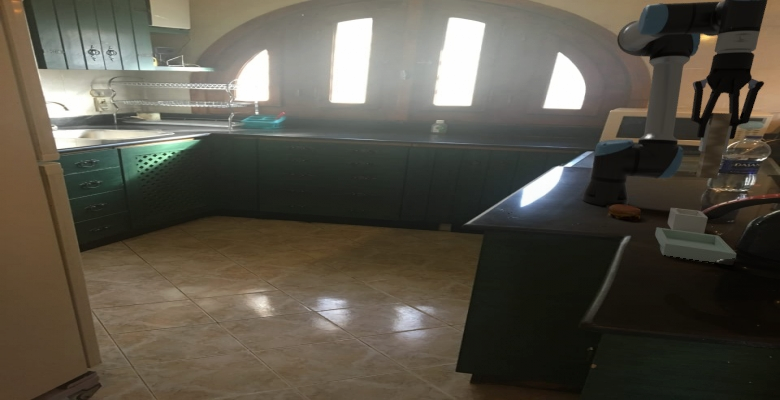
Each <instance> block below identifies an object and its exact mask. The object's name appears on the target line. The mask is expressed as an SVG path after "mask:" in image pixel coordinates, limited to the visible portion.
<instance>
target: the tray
mask: <svg viewBox="0 0 780 400" xmlns="http://www.w3.org/2000/svg"><path fill="white" fill-rule="evenodd" d="M654 236H655V238H656V239H657V240H656V241H658V244H657V246H658V248H659V250H660V252H661V254H662V256H664V255H666V256H665V257H670V256H673V257H672V258H676V257H680V258H679V259H683V258H686V259H685V260H689V259H693V260H692V261H695V260H699V261H698V262H702V261H709V262H715V261H717V260H720V259H732V258H735V259H736V258H737V253H736V251H734V250H733V249H732V248H731V247H730V246H729V244H727V243H726V242H725V241H724V239H722V238H721V236H720V235H715V234H707V233H704V234H702V233H695V232H687V231H680V230H672V229H671V228H664V227H663V228H662V227H657V226H656V228H655V232H654Z"/></svg>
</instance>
